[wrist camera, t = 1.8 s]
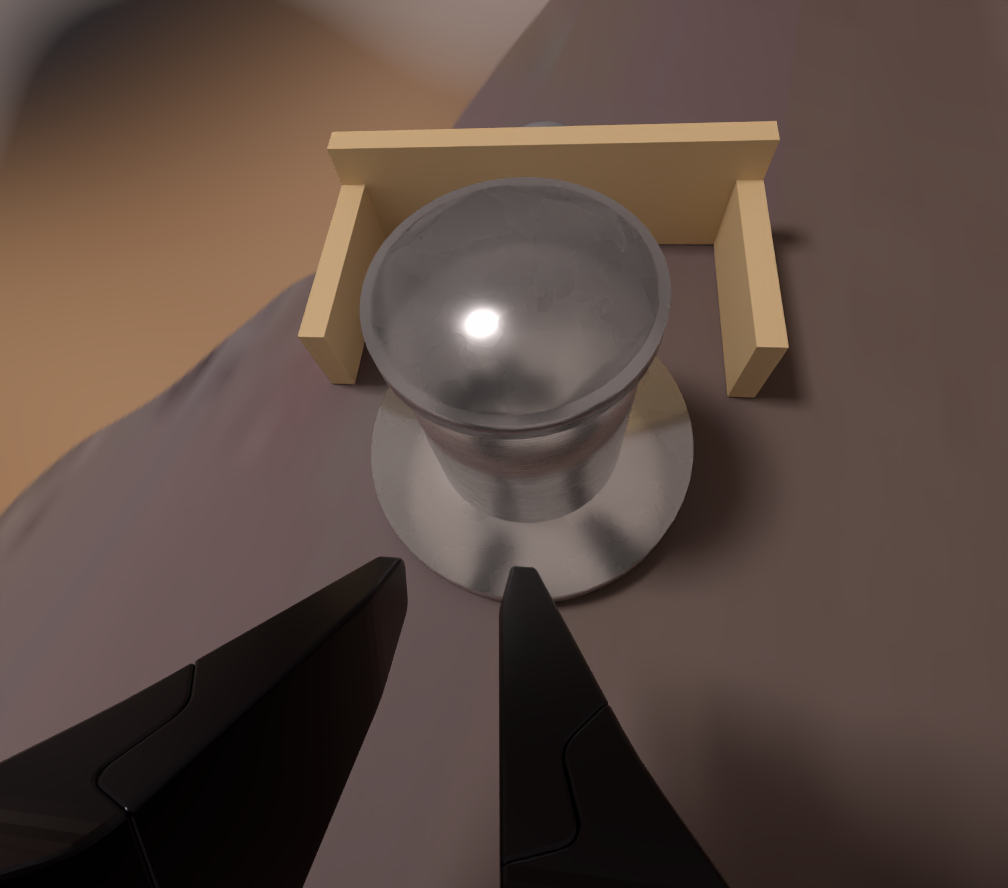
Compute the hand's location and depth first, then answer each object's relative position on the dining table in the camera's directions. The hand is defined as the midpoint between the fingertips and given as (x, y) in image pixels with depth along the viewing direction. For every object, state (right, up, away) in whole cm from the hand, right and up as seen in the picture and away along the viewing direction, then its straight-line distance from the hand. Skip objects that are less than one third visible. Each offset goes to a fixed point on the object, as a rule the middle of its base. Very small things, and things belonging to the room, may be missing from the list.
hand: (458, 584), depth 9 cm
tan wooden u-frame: (+3, +10, +19) cm, 22 cm away
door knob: (+2, +2, +16) cm, 16 cm away
